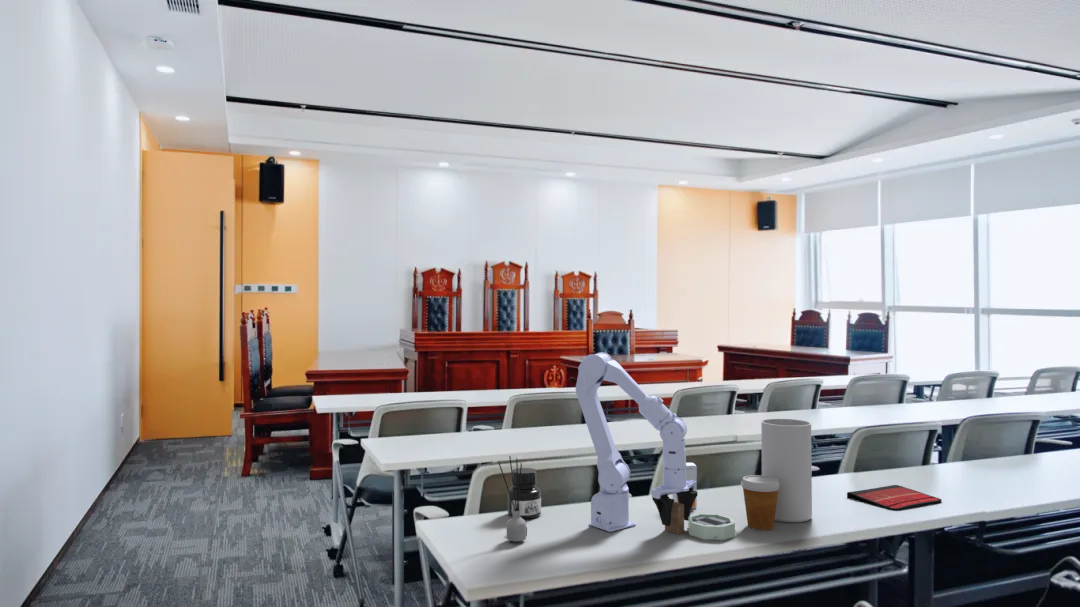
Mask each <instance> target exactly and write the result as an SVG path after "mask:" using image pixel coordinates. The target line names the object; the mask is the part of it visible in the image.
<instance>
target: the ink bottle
mask: <svg viewBox="0 0 1080 607" xmlns="http://www.w3.org/2000/svg"><path fill="white" fill-rule="evenodd" d="M512 473H513V481H514V489H515V497H516V505H517V502H518V497H517V467H515V468H514V469H513V468H512ZM519 478H520V467H518V490H519ZM537 480H538V475H537V469H535V468H532V467H522V468H521V480H520V491H519V509H520V517H521V518H522V519H523V520H528V519H527V518H531V519H535V518H534V517H536V518H539V517H540V516H541V515H542V497H541V495H542V494H541V490H540V488H538V486H537V483H538V481H537ZM511 485H512V486H511V487H510V488H509V491H510V494H511V497H512V500H513V503H514V506H515V509H516V505H515V497H514V489H513V482H512V481H511ZM512 500H511V498H510V495H509V492H508V491H507V515H508V516H509V517H510V516H511V517H510V518H512V515H513V509H514V506H513V503H512Z"/></svg>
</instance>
